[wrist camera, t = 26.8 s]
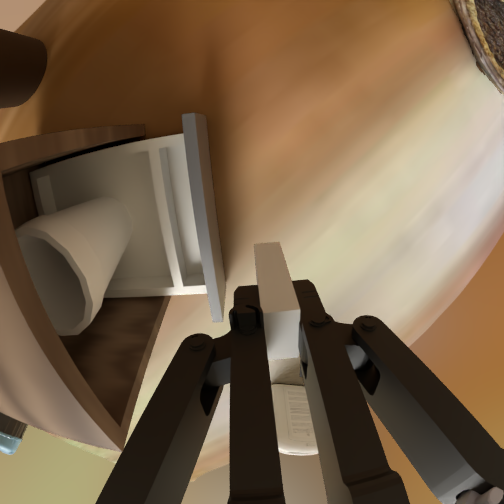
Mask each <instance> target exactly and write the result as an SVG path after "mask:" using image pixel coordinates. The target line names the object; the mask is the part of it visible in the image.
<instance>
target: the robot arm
mask: <svg viewBox="0 0 504 504" xmlns="http://www.w3.org/2000/svg"><path fill="white" fill-rule="evenodd" d="M254 252H255V265H256V277H257V285H250V286H238V288H237V289H236V290H235V292H234V307H233V308H232V309H231V310H230V312H229V320H230V326H231V330H230V331H229V332H228V333H227V334H225V335H224V336H221V337H219V338H215V339H212V337H210V336H209V335H207V334H203V333H201V334H193V335H190V336H188V337H187V338H185V339H184V340H183V342H182V343H181V345H180V347H179V348H178V350H177V352H176V354H175V356H174V357H173V359H172V361H171V363H170V365H169V366H168V368H167V370H166V372H165V374H164V376H163V377H162V379H161V381H160V383H159V385H158V386H157V388H156V390H155V392H154V394H153V396H152V397H151V399H150V401H149V403H148V405H147V407H146V408H145V410H144V412H143V414H142V416H141V418H140V420H139V421H138V423H137V425H136V427H135V429H134V431H133V433H132V434H131V436H130V438H129V440H128V442H127V444H126V446H125V448H124V449H123V451H122V453H121V455H120V457H119V459H118V461H117V463H116V465H115V467H114V469H113V470H112V473H111V474H110V476H109V478H108V480H107V482H106V484H105V486H104V488H103V490H102V492H101V494H100V496H99V498H98V500H97V502H96V504H181V502H182V499H183V496H184V494H185V491H186V488H187V486H188V483H189V481H190V478H191V475H192V473H193V470H194V467H195V465H196V462H197V459H198V457H199V454H200V451H201V448H202V446H203V443H204V440H205V437H206V435H207V432H208V429H209V426H210V424H211V421H212V418H213V415H214V412H215V410H216V407H217V404H218V401H219V398H220V396H221V393H222V390H223V386H224V385H225V384H228V383H230V496H229V499H228V503H227V504H286V503H285V497H284V492H283V484H282V475H281V467H280V458H279V449H278V441H277V432H276V423H275V415H274V406H273V398H272V389H271V381H270V372H269V364H268V361H269V360H279V359H288V358H297V357H299V353H300V357H301V362H300V377H302V376H303V381H304V386H305V390H306V395H307V400H308V404H309V409H310V414H311V419H312V423H313V428H314V433H315V438H316V443H317V448H318V453H319V458H320V463H321V468H322V474H323V479H324V484H325V489H326V495H327V501H328V504H410V503H409V499H408V496H407V493H406V490H405V486H404V483H403V481H402V478H401V477H400V475H399V474H398V473H397V472H395V471H393V470H391V469H390V467H389V465H388V462H387V459H386V456H385V453H384V450H383V447H382V444H381V441H380V439H379V435H378V432H377V430H376V427H375V424H374V421H373V418H372V416H371V413H370V410H369V407H368V405H367V402H368V404H369V405H370V406H371V408H372V409H373V411H374V412H375V413H376V415H377V416H378V418H379V419H380V420H381V422H382V423H383V424H384V426H385V427H386V429H387V430H388V431H389V433H390V434H391V435H392V437H393V438H394V439H395V441H396V442H397V444H398V445H399V447H400V448H401V449H402V451H403V452H404V454H405V455H406V457H407V458H408V459H409V461H410V462H411V464H412V465H413V466H414V468H415V469H416V471H417V472H418V473H419V475H420V476H421V478H422V479H423V480H424V482H425V483H426V485H427V486H428V487H429V489H430V490H431V491H432V493H433V494H434V495H435V496H436V497H437V499H438V500H440V501H441V502H442V503H443V504H504V449H502V448H500V446H499V445H498V444H497V443H496V442H495V440H494V439H493V438H492V437H491V436H490V435H489V433H488V432H487V431H486V430H485V429H484V428H483V427H482V425H481V424H480V423H479V422H478V421H477V420H476V419H475V418H474V416H472V414H471V413H470V412H469V411H468V410H467V409H466V408H465V407H464V405H463V404H462V403H461V402H460V401H459V400H458V399H457V398H456V397H455V396H454V395H453V394H452V392H451V391H450V390H449V389H448V388H447V387H446V386H445V385H444V384H443V383H442V382H441V381H440V380H439V379H438V378H437V377H436V375H435V374H434V373H432V371H431V370H430V369H429V368H428V367H427V366H426V365H425V364H424V363H423V362H422V361H421V360H420V359H419V358H418V357H417V356H416V355H415V354H414V353H413V352H412V351H411V350H410V349H409V348H408V347H407V346H406V345H405V344H404V343H403V342H402V341H401V340H400V339H399V338H398V337H397V336H396V335H395V334H394V333H393V332H392V331H391V330H390V329H389V328H388V327H387V326H386V325H385V324H384V323H383V322H382V321H381V320H380V319H378V318H377V317H374V316H368V315H364V316H360V317H358V318H356V319H355V320H354V322H353V324H343V323H338V322H335V321H334V319H333V318H332V317H331V316H330V315H328V314H327V313H326V312H325V310H324V307H323V305H322V302H321V300H320V298H319V295H318V293H317V291H316V288H315V286H314V284H313V283H312V282H310V281H309V280H308V279H307V280H297V281H291V277H290V274H289V271H288V268H287V264H286V261H285V258H284V255H283V252H282V249H281V246H280V242H272V243H260V244H254ZM366 401H367V402H366ZM27 426H28V424H26V423H23V422H21V421H19V420H16V419H14V418H12V417H10V416H7V415H5V414H3V413H1V412H0V451H2V452H3V453H6V454H10V455H11V454H14V453H15V451H16V450H17V448H18V446H19V444H20V442H21V441H22V438H23V435H24V433H25V431H26V428H27Z"/></svg>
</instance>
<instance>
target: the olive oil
mask: <svg viewBox="0 0 504 504" xmlns="http://www.w3.org/2000/svg"><path fill="white" fill-rule="evenodd" d="M46 61H47V53H46V48H45V46H44V44H43V43H42V42H41V41H40V40H38V39H35V38H31V37H28V36H24V35H21V34H18V33H14V32H10V31H7V30H3V29H0V109H1V108H8V107H15V106H19V105H21V104H23V103H24V102H26V101H27V100H28V99H29V98H30V97H31V96H32V95H33V93H34V92H35V91H36V89H37V87H38V86H39V84H40V82H41V80H42V77H43V74H44V71H45V67H46Z"/></svg>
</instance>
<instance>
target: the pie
mask: <svg viewBox="0 0 504 504" xmlns="http://www.w3.org/2000/svg"><path fill="white" fill-rule="evenodd" d="M450 3H451V5H452V7H453V10H454V11H455V13H456V15H457V16H458V18H459V21H460V23H461V24H462V29H463V32H464V35H465V36H466V38H467V40H468V42H469V44H470V47H471V49H472V53H473V55H474V57H475V58H476V65H477V67H478V68H479V70H480V71H481V72H483V73H484V75H486V76H487V77H488V78H489V80H490V81H491V82H492V83H493V84H494V85H495V87H496V88H497V89H498V91H499V92H500V93H501V94H503V95H504V0H450Z"/></svg>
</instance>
